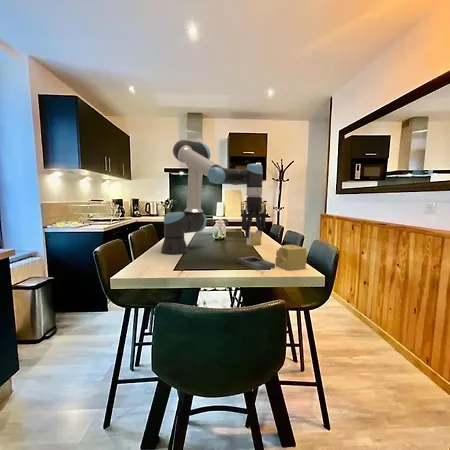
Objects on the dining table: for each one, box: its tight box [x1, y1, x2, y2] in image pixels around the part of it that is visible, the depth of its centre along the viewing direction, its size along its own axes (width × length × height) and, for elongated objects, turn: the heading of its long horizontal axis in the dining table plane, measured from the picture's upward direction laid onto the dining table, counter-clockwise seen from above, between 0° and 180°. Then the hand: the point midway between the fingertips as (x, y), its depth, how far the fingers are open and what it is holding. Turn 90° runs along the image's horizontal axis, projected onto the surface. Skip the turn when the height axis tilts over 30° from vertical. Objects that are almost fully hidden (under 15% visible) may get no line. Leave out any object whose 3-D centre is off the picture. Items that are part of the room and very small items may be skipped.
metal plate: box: [236, 255, 276, 271], centre depth 136 cm, size 18×10×2 cm, turn 28°
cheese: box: [274, 244, 308, 271], centre depth 132 cm, size 10×11×10 cm
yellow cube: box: [249, 231, 262, 247], centre depth 136 cm, size 5×5×6 cm
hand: (253, 244), depth 137 cm, fingers closed on yellow cube, 5 cm apart
